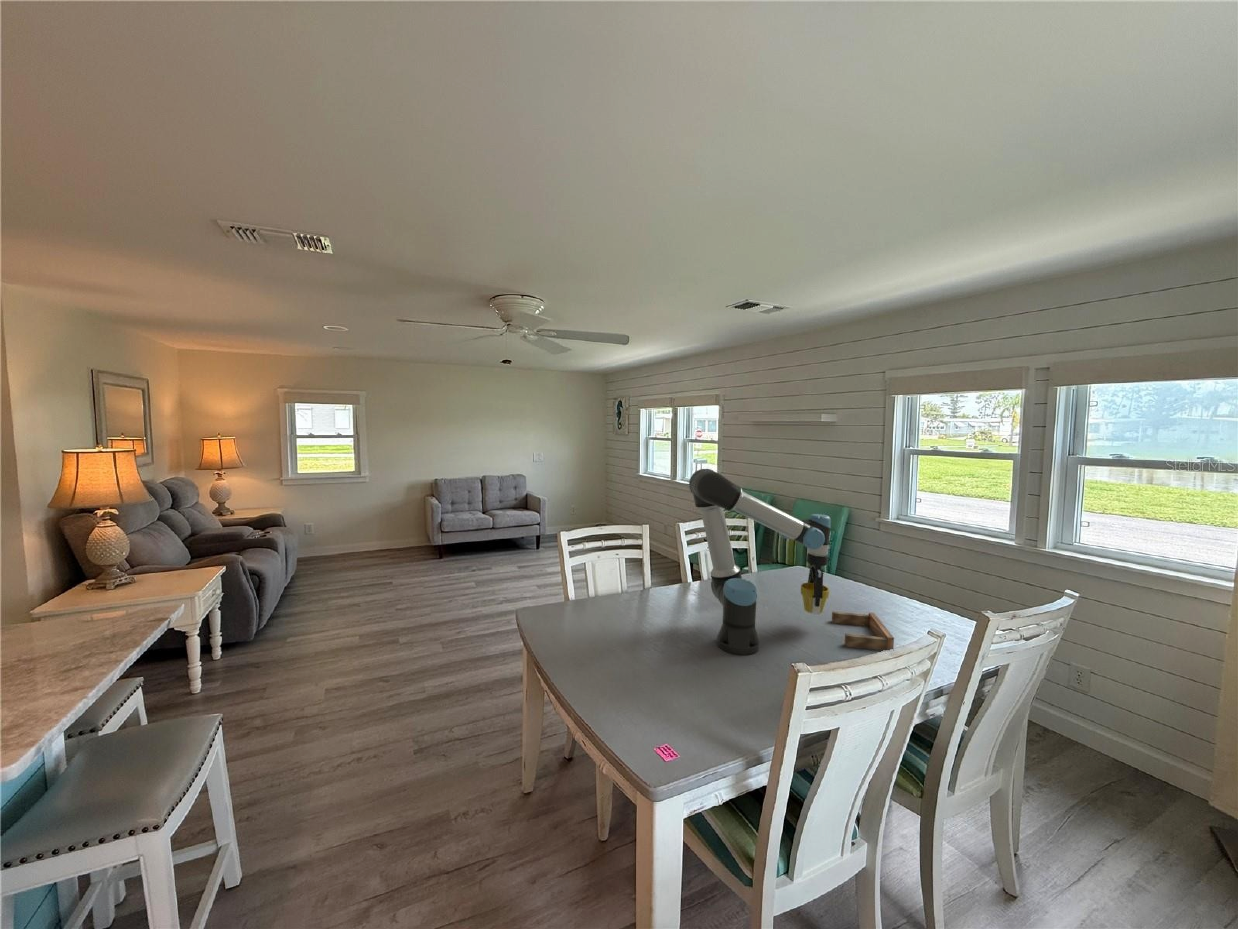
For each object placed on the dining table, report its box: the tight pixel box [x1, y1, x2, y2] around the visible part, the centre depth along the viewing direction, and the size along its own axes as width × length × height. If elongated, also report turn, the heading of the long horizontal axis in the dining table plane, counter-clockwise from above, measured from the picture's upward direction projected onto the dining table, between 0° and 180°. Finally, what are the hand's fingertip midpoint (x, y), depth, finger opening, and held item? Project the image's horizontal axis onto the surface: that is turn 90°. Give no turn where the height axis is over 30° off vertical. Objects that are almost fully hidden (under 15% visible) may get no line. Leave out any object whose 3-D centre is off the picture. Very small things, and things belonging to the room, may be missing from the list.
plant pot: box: [800, 582, 830, 614], centre depth 195 cm, size 10×10×10 cm
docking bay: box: [831, 611, 895, 651], centre depth 191 cm, size 16×24×5 cm, turn 168°
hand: (813, 608), depth 195 cm, fingers closed on plant pot, 10 cm apart
